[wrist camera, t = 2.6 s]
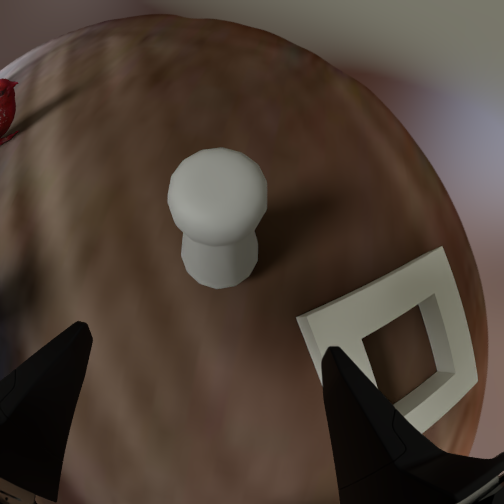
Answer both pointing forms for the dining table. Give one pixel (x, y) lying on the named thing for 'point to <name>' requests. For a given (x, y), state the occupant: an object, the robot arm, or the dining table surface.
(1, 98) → the decorative bird figurine
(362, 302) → the grey block
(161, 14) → the dining table surface
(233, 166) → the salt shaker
